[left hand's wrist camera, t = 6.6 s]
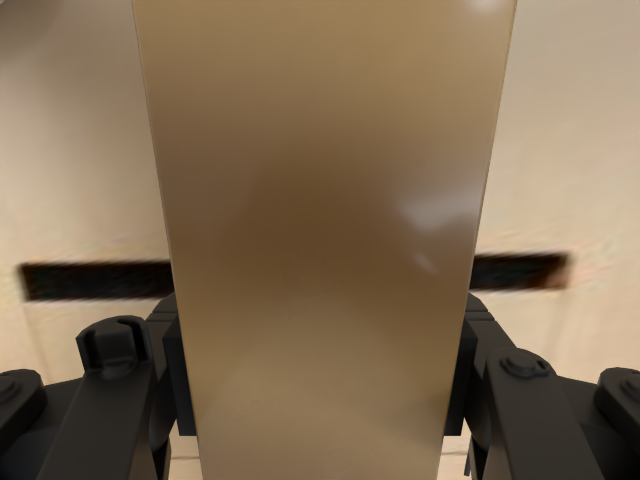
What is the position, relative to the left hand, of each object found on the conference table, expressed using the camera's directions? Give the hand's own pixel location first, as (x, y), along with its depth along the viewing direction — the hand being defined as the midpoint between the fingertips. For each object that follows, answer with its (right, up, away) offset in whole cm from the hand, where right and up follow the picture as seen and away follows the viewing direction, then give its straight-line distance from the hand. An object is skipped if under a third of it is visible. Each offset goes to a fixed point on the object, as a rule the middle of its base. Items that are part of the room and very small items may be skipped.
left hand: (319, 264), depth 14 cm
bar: (0, -21, +9) cm, 23 cm away
